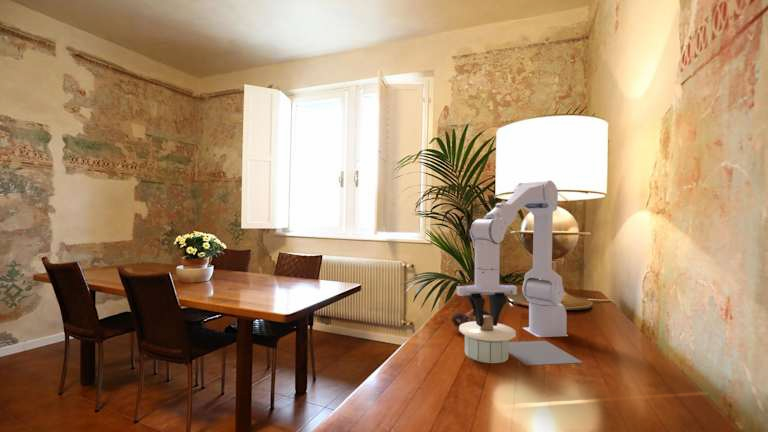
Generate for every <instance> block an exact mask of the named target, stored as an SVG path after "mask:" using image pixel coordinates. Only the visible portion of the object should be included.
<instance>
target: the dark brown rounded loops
mask: <svg viewBox="0 0 768 432" xmlns="http://www.w3.org/2000/svg"><path fill="white" fill-rule="evenodd" d="M483 315H490V312H488V311H487V310H485V309H483ZM458 320H459V321H458ZM451 321H452V322H451V323H452V324H453V325H454V327H456V328H458V329H459V326H460V325H461V324H463V323H466V322H472V321H476V318H475V314H474V311H473V308H472V309H470V310H469V311H467V312H465V313H461V312H455V313H454V314H452V316H451Z"/></svg>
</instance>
